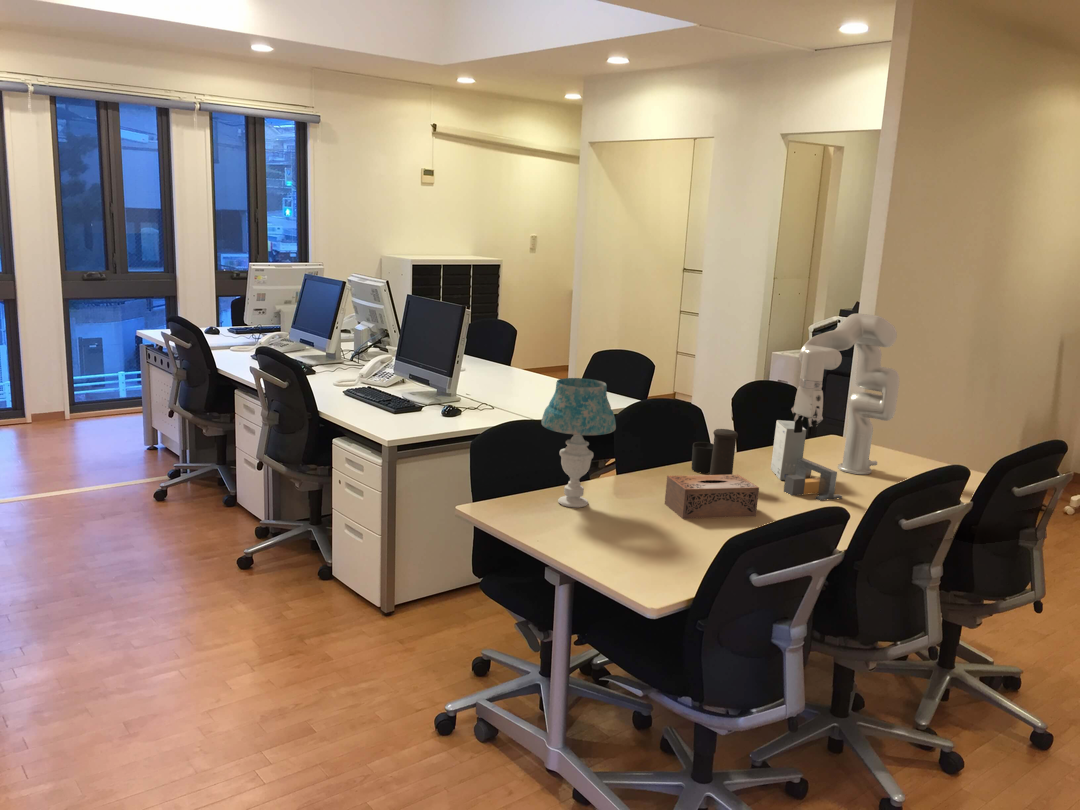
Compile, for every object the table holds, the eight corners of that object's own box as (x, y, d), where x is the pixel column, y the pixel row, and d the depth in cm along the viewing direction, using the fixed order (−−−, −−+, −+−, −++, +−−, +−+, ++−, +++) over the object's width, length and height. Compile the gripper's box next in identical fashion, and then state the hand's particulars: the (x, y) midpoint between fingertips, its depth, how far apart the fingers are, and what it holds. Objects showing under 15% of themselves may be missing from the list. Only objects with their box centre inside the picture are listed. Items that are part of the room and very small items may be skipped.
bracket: (808, 483, 318) (811, 457, 316) (841, 498, 302) (845, 471, 299) (786, 485, 314) (789, 458, 312) (819, 500, 298) (822, 473, 296)
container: (734, 482, 313) (740, 429, 309) (729, 488, 305) (735, 434, 301) (711, 478, 317) (717, 425, 313) (705, 484, 309) (711, 430, 304)
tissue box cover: (682, 519, 270) (685, 489, 268) (664, 504, 284) (667, 475, 282) (755, 517, 277) (759, 487, 275) (734, 502, 291) (738, 474, 288)
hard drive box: (800, 481, 319) (807, 430, 315) (779, 480, 319) (786, 428, 315) (789, 470, 334) (795, 420, 330) (769, 468, 334) (775, 419, 330)
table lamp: (571, 487, 295) (579, 373, 287) (624, 506, 279) (634, 385, 270) (521, 500, 279) (528, 379, 270) (574, 520, 262) (583, 393, 254)
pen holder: (719, 470, 328) (721, 445, 326) (709, 475, 320) (712, 449, 318) (696, 465, 333) (698, 440, 331) (686, 470, 325) (689, 445, 323)
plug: (819, 488, 312) (821, 473, 311) (827, 492, 308) (830, 476, 306) (783, 491, 306) (785, 475, 304) (792, 495, 302) (794, 479, 300)
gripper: (836, 389, 290) (829, 440, 294) (802, 379, 306) (796, 428, 310) (818, 389, 287) (811, 441, 291) (785, 379, 303) (779, 429, 307)
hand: (804, 434), depth 300 cm, fingers open, 6 cm apart
